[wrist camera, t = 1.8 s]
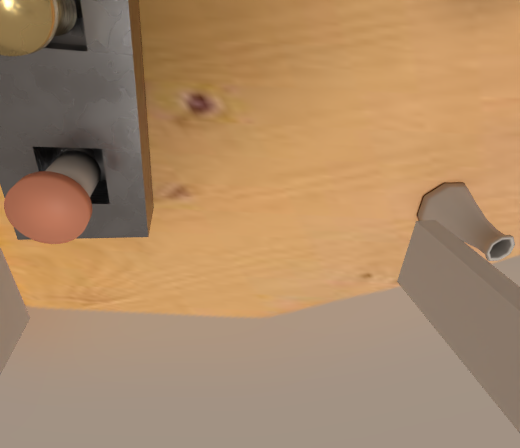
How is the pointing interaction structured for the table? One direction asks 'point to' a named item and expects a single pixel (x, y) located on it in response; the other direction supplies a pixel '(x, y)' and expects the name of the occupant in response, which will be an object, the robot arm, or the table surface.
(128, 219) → the block
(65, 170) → the red plunger
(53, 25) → the brass plunger
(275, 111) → the table surface
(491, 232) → the flask
